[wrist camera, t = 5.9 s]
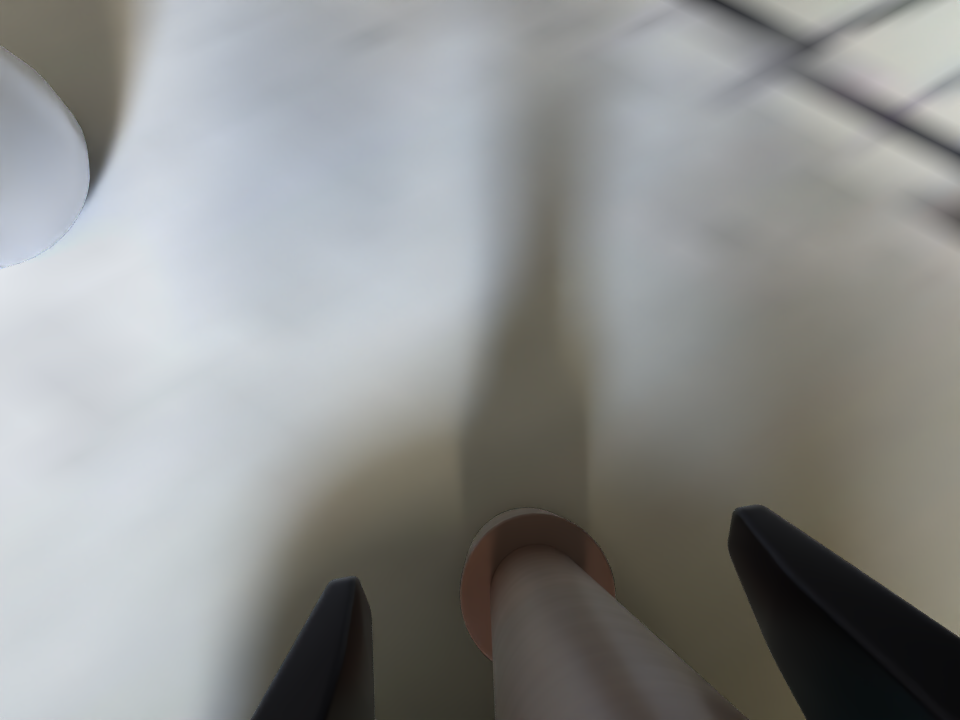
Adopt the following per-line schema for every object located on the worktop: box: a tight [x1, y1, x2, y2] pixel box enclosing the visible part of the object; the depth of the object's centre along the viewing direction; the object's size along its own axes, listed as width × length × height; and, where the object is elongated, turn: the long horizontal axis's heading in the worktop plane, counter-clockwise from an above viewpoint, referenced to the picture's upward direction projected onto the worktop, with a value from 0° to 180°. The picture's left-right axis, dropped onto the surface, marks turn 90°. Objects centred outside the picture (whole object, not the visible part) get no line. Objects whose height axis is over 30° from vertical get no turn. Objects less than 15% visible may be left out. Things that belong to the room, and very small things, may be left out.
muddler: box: [460, 508, 749, 720], centre depth 9 cm, size 4×4×14 cm
